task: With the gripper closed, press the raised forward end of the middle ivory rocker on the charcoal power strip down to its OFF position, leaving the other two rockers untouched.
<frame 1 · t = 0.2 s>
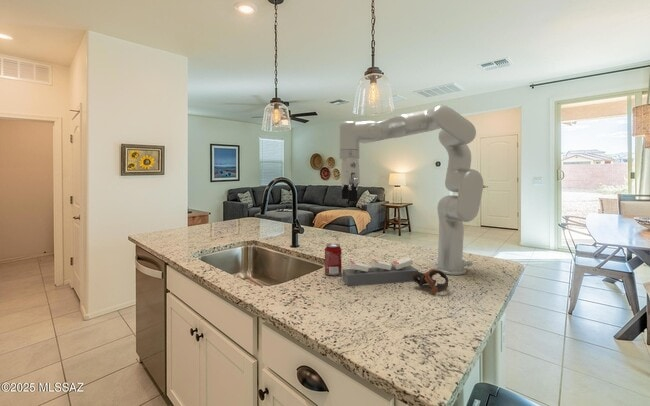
hand: (349, 200, 116), 31 cm above the worktop, fingers open, 9 cm apart
rocker 3: (358, 265, 113), point 6 cm above the worktop, hinge at -15.0°
rocker 2: (380, 264, 115), point 6 cm above the worktop, hinge at -15.0°
rocker 1: (402, 263, 117), point 6 cm above the worktop, hinge at 15.0°
power strip: (380, 280, 116), on the worktop
soda can: (333, 274, 123), on the worktop
brown looped band: (429, 290, 106), on the worktop
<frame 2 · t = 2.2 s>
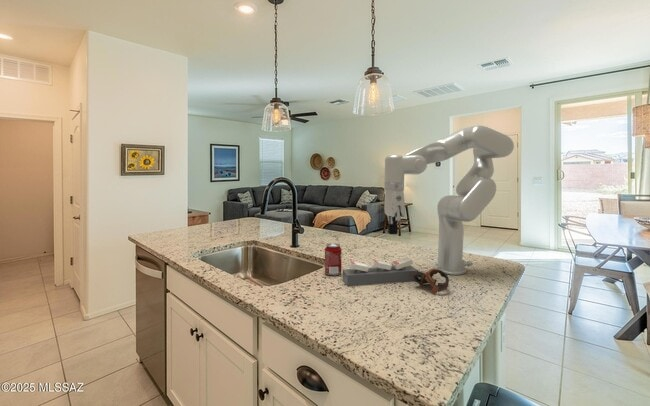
hand: (392, 233, 119), 17 cm above the worktop, fingers closed
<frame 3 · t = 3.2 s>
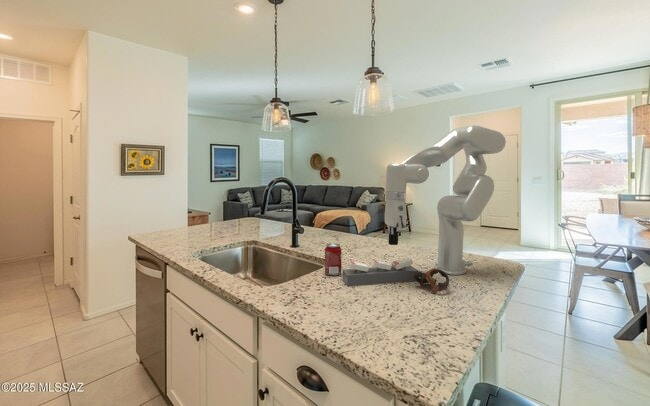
hand: (393, 244, 115), 14 cm above the worktop, fingers closed
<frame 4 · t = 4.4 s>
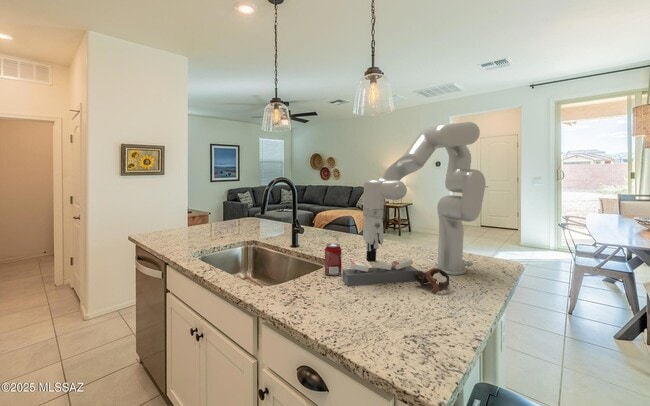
hand: (371, 261, 114), 8 cm above the worktop, fingers closed
rocker 2: (380, 264, 115), point 6 cm above the worktop, hinge at -13.3°, touching gripper
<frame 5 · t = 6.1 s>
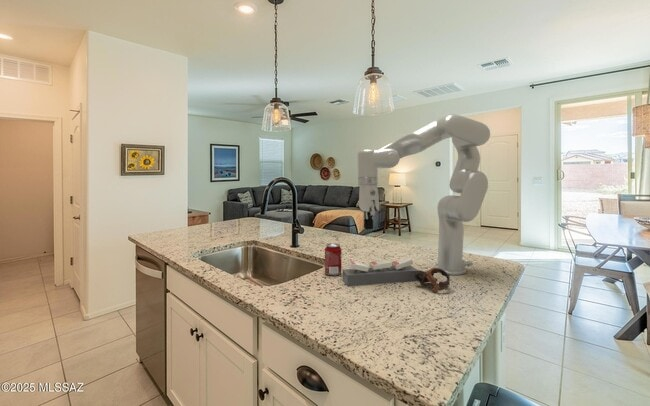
hand: (368, 228, 118), 19 cm above the worktop, fingers closed
rocker 2: (380, 264, 115), point 6 cm above the worktop, hinge at 5.0°
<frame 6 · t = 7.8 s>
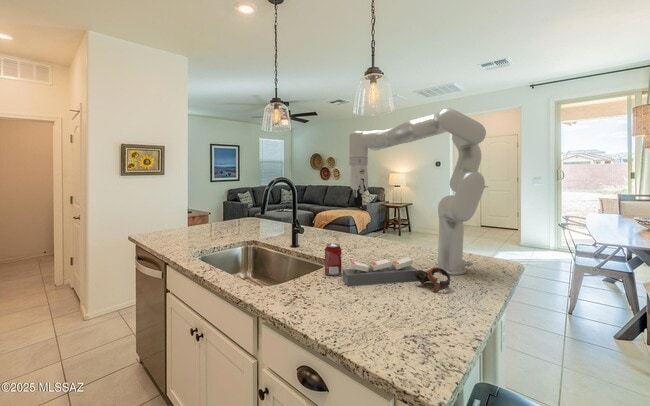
hand: (358, 206, 125), 27 cm above the worktop, fingers closed
rocker 2: (380, 264, 115), point 6 cm above the worktop, hinge at 10.5°
at the end: rocker 2 at +11° (first picture: -15°); rocker 3 at -15° (first picture: -15°); rocker 1 at +15° (first picture: +15°) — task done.
